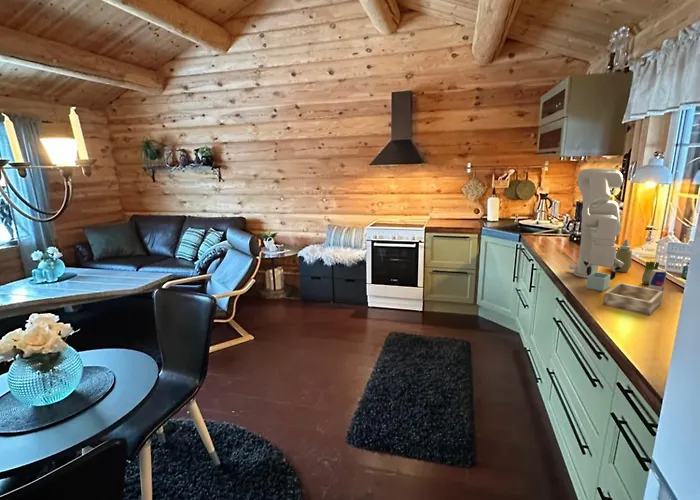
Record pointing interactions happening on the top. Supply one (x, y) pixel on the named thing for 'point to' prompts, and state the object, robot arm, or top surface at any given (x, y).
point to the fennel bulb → (649, 271)
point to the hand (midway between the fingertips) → (600, 277)
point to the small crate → (598, 281)
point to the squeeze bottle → (624, 257)
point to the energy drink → (657, 279)
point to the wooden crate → (633, 298)
